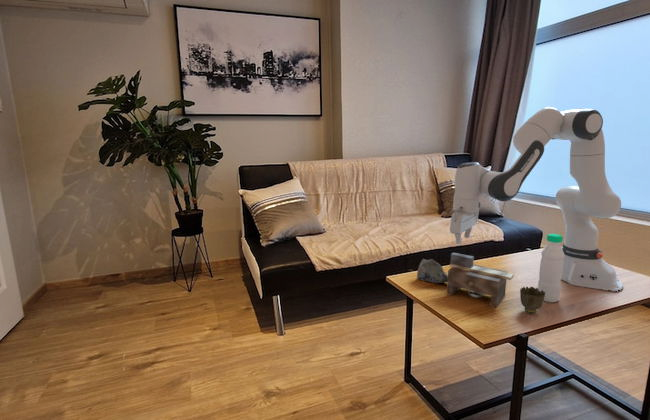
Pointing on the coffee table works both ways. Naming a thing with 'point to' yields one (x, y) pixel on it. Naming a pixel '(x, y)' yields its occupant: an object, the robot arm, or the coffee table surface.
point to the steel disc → (475, 294)
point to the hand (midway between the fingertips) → (462, 240)
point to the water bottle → (551, 268)
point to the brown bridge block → (477, 283)
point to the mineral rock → (431, 272)
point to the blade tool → (467, 264)
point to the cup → (531, 299)
